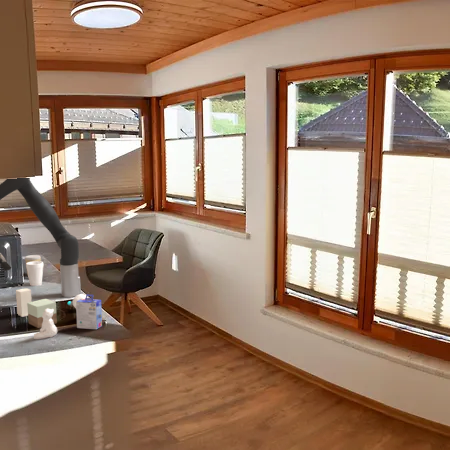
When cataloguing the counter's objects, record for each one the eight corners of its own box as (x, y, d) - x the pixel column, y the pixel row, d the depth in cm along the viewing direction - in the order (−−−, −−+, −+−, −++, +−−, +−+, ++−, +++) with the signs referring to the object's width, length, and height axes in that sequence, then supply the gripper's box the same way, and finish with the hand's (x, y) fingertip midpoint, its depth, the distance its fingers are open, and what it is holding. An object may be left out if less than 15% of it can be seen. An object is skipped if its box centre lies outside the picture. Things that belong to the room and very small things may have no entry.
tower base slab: (47, 319, 236) (46, 308, 235) (57, 323, 230) (56, 313, 229) (28, 324, 229) (28, 313, 228) (38, 328, 223) (37, 317, 222)
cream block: (27, 312, 245) (26, 288, 243) (32, 314, 242) (30, 290, 240) (17, 314, 242) (15, 290, 240) (22, 316, 238) (20, 292, 236)
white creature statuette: (41, 331, 219) (40, 304, 217) (61, 331, 219) (60, 305, 217) (32, 339, 210) (31, 311, 208) (53, 339, 209) (51, 312, 208)
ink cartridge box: (102, 325, 226) (101, 294, 224) (97, 329, 221) (96, 297, 218) (82, 324, 228) (81, 293, 226) (76, 328, 223) (75, 296, 220)
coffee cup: (38, 276, 313) (37, 257, 312) (23, 276, 313) (22, 257, 312) (44, 273, 323) (43, 254, 321) (29, 273, 323) (28, 254, 321)
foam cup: (47, 283, 296) (46, 262, 295) (34, 287, 289) (33, 265, 287) (37, 281, 301) (36, 260, 300) (23, 285, 294) (22, 263, 292)
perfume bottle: (82, 306, 242) (61, 307, 245) (91, 312, 249) (70, 313, 252) (85, 291, 245) (64, 292, 249) (94, 297, 252) (73, 298, 255)
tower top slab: (46, 308, 235) (45, 298, 234) (56, 313, 229) (55, 302, 228) (27, 313, 228) (27, 302, 228) (37, 317, 222) (37, 306, 222)
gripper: (-10, 237, 238) (13, 264, 240) (-5, 239, 252) (16, 264, 254) (-24, 247, 236) (-1, 274, 238) (-18, 248, 250) (4, 274, 252)
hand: (8, 269), depth 246 cm, fingers open, 8 cm apart
